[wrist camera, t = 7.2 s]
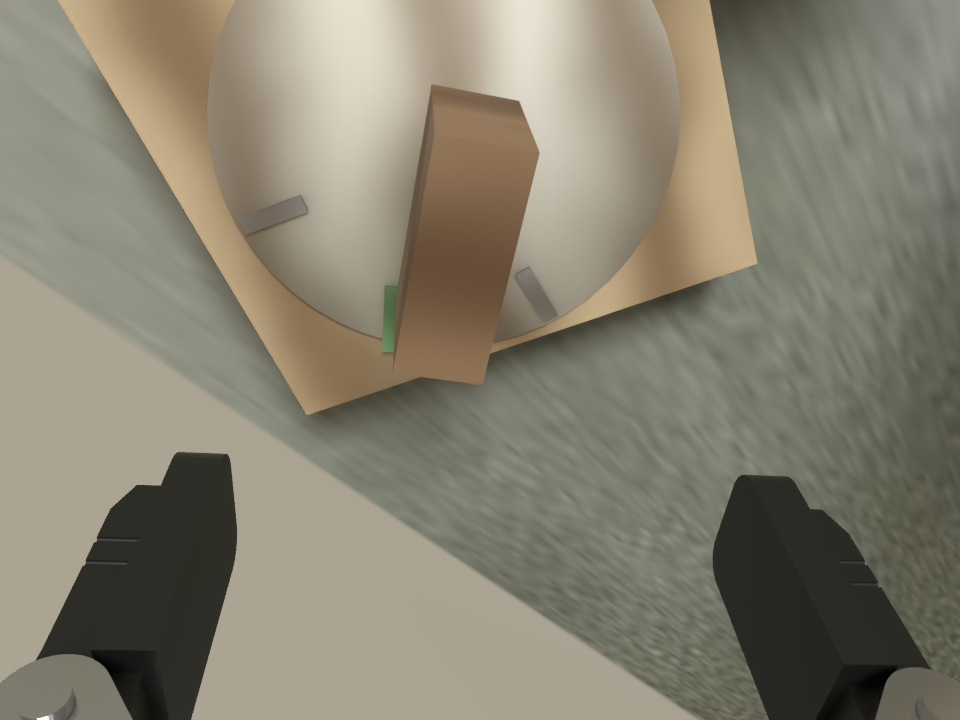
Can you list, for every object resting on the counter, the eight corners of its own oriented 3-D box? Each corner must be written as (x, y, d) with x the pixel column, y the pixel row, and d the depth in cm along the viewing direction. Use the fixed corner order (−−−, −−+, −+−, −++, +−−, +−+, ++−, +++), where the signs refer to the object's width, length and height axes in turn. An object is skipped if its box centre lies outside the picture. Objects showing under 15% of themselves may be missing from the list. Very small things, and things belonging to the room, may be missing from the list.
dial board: (629, -247, 25) (665, -263, 22) (724, 222, 34) (761, 268, 31) (100, -21, 28) (51, 0, 24) (317, 363, 37) (305, 421, 33)
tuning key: (429, 45, 26) (434, 133, 18) (502, 60, 26) (540, 152, 18) (382, 333, 31) (370, 498, 23) (443, 342, 32) (452, 507, 24)
